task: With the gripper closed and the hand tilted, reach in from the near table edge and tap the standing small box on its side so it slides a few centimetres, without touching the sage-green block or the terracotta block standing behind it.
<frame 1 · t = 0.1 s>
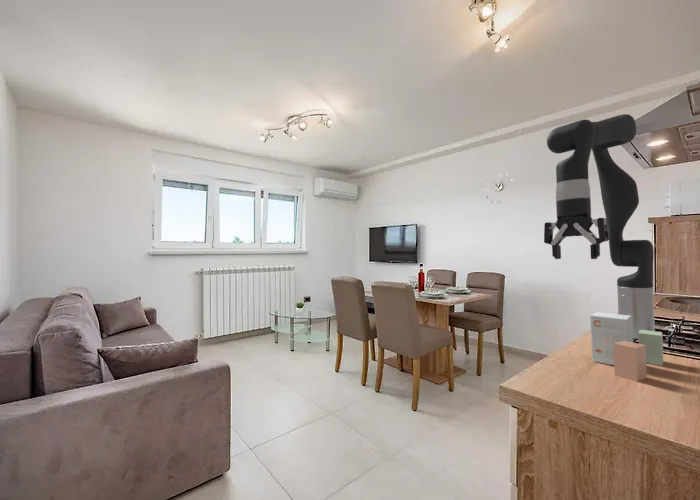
hand: (575, 258, 84), 29 cm above the worktop, tool pointing down, fingers open, 8 cm apart
small box: (612, 362, 87), on the worktop
sage block: (651, 361, 86), on the worktop
terracotta block: (630, 376, 78), on the worktop
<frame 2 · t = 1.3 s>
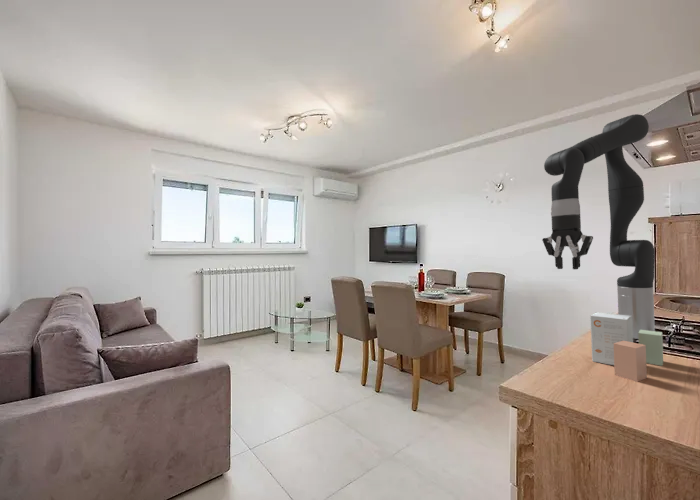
hand: (567, 268, 99), 25 cm above the worktop, tool pointing down, fingers open, 3 cm apart
nothing on the worktop moved.
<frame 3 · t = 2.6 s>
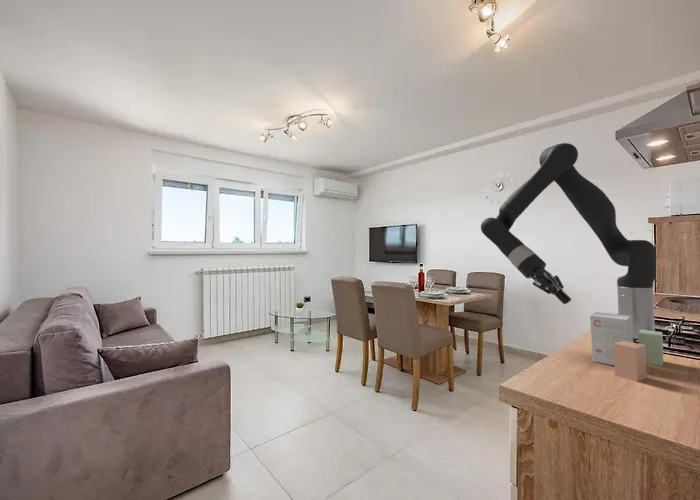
hand: (568, 302, 96), 15 cm above the worktop, tool tilted 45°, fingers closed
nothing on the worktop moved.
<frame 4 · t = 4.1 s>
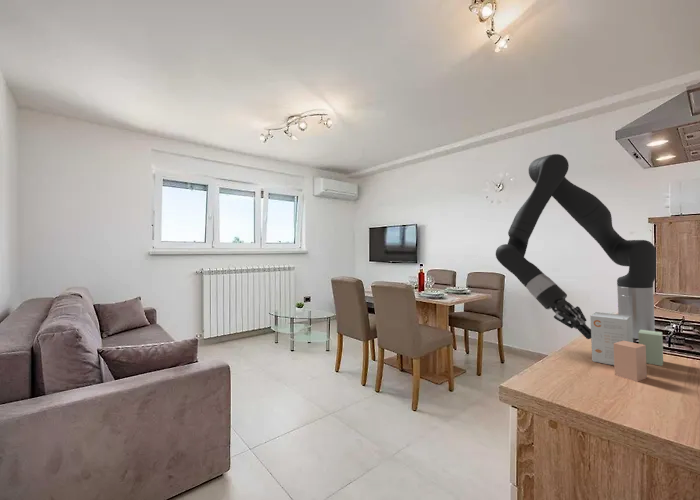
hand: (592, 337, 91), 6 cm above the worktop, tool tilted 45°, fingers closed
small box: (612, 362, 87), on the worktop, touching gripper
everything else where it was.
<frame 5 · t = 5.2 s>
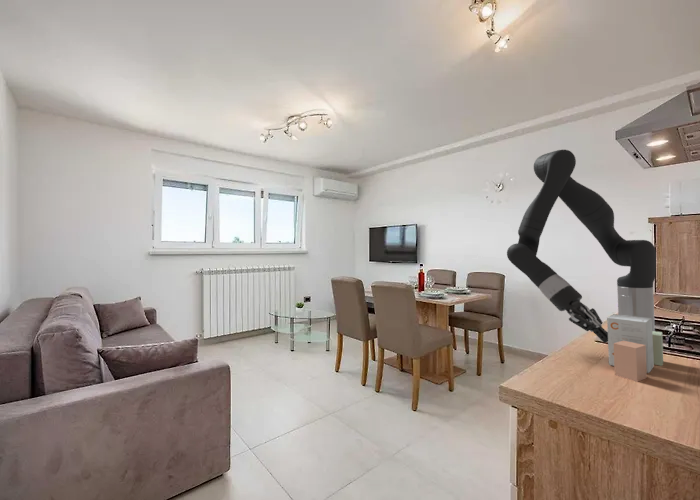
hand: (608, 340, 88), 6 cm above the worktop, tool tilted 45°, fingers closed
small box: (631, 367, 84), on the worktop, touching gripper
everything else where it was.
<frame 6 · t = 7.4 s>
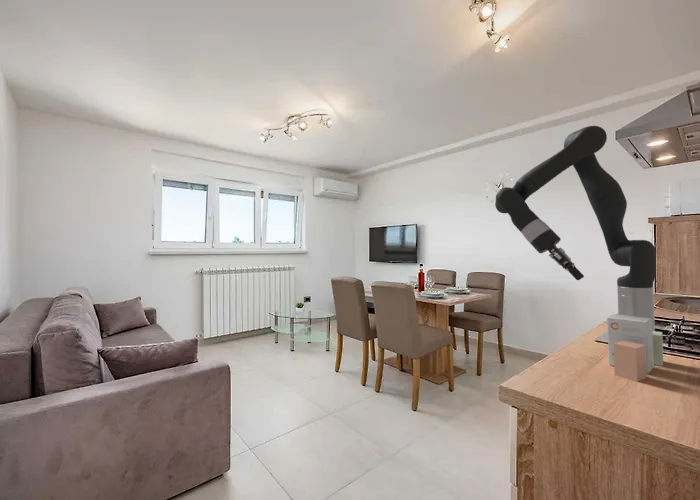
hand: (581, 278, 96), 22 cm above the worktop, tool tilted 40°, fingers closed
small box: (631, 367, 84), on the worktop
everything else where it was.
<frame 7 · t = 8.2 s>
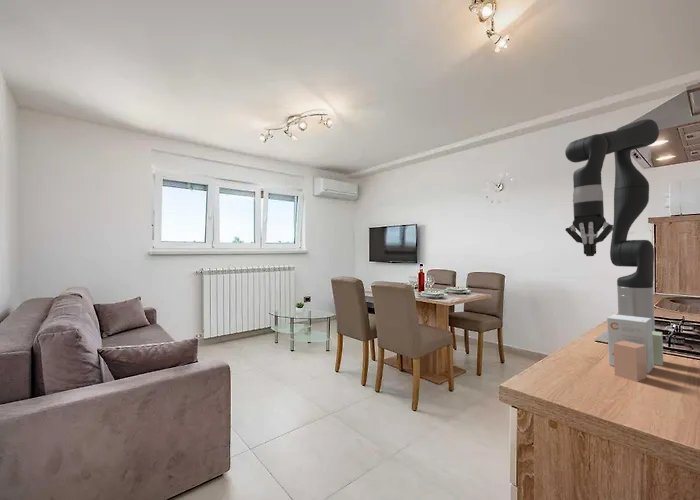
hand: (590, 256, 99), 29 cm above the worktop, tool pointing down, fingers closed
nothing on the worktop moved.
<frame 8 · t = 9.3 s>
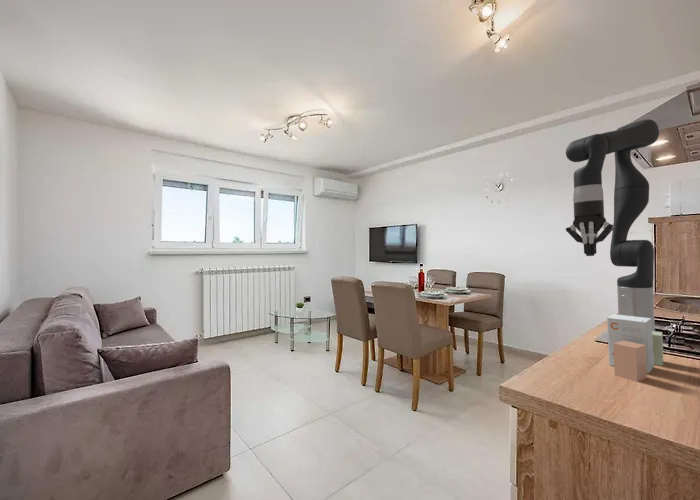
hand: (590, 255, 99), 29 cm above the worktop, tool pointing down, fingers closed
nothing on the worktop moved.
at the end: small box inside the target area (1.9 cm from its centre), on the worktop; small box tilted 0°; terracotta block moved 0.1 cm from its start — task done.
